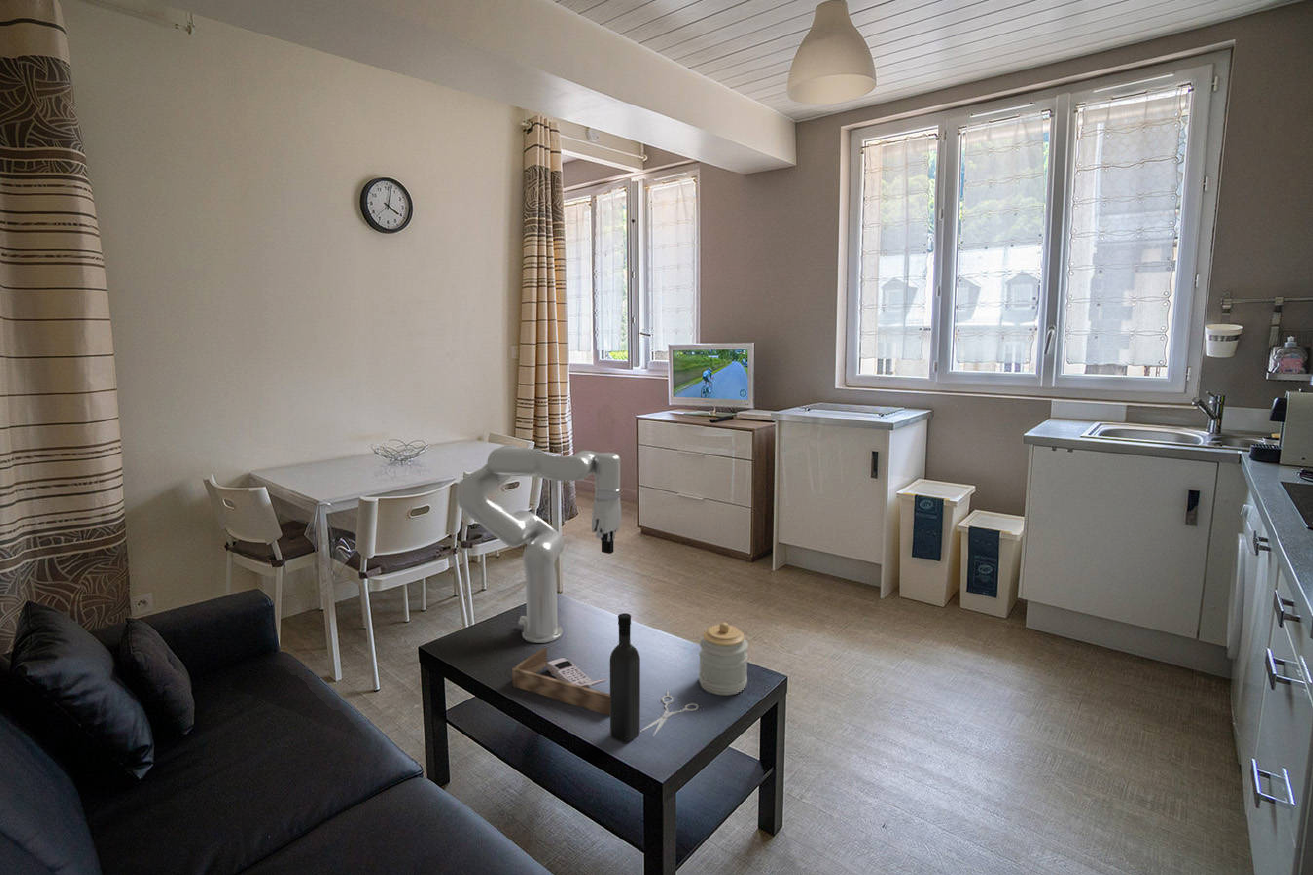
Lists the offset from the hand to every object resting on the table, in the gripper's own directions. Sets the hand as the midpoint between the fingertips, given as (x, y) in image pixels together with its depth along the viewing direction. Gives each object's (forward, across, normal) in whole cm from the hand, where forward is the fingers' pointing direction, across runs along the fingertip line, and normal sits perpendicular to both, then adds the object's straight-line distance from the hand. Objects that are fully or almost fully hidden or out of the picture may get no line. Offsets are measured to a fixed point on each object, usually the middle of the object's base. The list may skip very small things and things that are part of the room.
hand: (607, 552), depth 205 cm
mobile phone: (+29, +26, +6) cm, 40 cm away
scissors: (+29, +28, +36) cm, 54 cm away
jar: (+28, +7, +42) cm, 51 cm away
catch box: (+28, +29, +8) cm, 41 cm away
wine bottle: (+28, +40, +31) cm, 58 cm away
